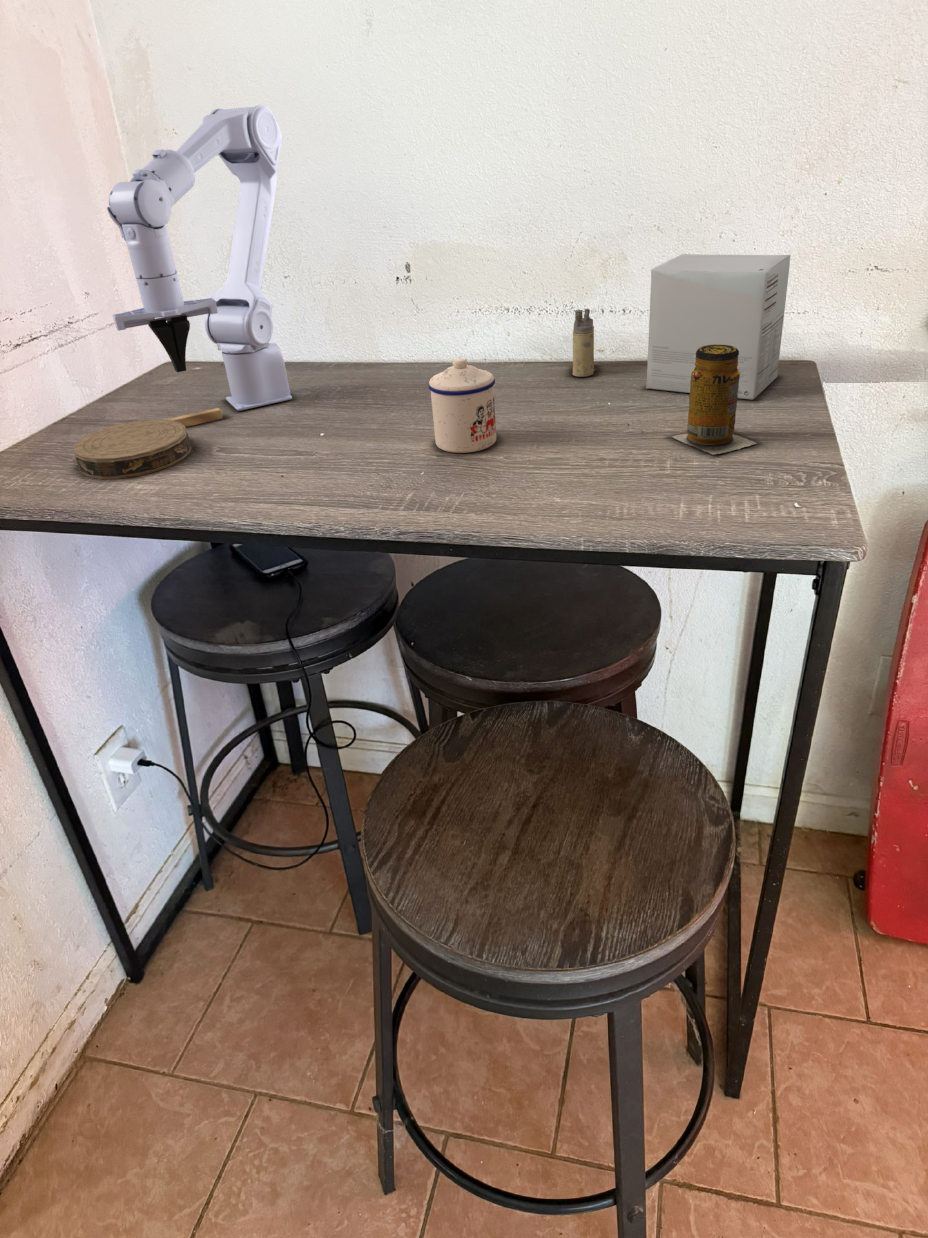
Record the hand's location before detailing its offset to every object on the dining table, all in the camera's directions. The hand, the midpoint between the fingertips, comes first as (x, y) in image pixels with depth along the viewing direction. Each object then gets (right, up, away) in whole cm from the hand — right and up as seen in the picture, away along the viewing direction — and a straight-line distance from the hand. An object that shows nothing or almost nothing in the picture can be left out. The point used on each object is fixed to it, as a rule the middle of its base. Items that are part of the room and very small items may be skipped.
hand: (180, 370), depth 128 cm
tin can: (-5, -14, -4) cm, 16 cm away
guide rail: (-4, -8, +6) cm, 11 cm away
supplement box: (+82, -1, +6) cm, 82 cm away
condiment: (+76, -14, -15) cm, 79 cm away
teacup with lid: (+44, -12, -8) cm, 46 cm away
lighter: (+64, +4, +16) cm, 66 cm away
